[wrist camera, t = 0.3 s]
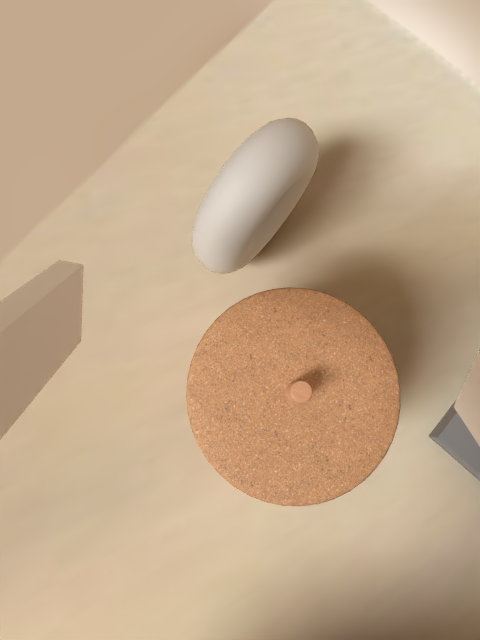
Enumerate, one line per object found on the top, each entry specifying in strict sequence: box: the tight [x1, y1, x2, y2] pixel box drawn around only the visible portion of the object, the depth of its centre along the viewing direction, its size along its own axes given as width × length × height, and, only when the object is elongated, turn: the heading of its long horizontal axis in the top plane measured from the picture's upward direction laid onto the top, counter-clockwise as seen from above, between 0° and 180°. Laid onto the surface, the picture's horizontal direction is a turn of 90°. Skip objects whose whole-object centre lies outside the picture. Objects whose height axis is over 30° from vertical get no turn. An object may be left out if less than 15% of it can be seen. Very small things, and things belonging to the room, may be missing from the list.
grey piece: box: [192, 118, 319, 274], centre depth 27 cm, size 10×3×10 cm, turn 142°
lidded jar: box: [186, 288, 400, 506], centre depth 25 cm, size 11×11×9 cm
